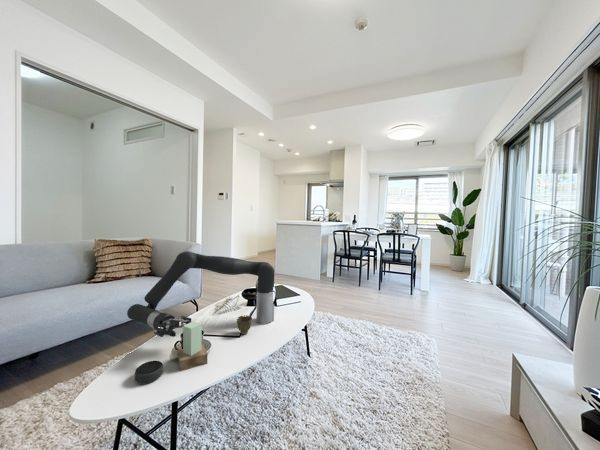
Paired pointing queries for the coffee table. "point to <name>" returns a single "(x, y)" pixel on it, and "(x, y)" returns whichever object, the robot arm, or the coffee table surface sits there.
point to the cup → (244, 324)
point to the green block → (192, 338)
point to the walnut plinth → (191, 359)
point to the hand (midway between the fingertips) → (184, 329)
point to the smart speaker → (148, 372)
